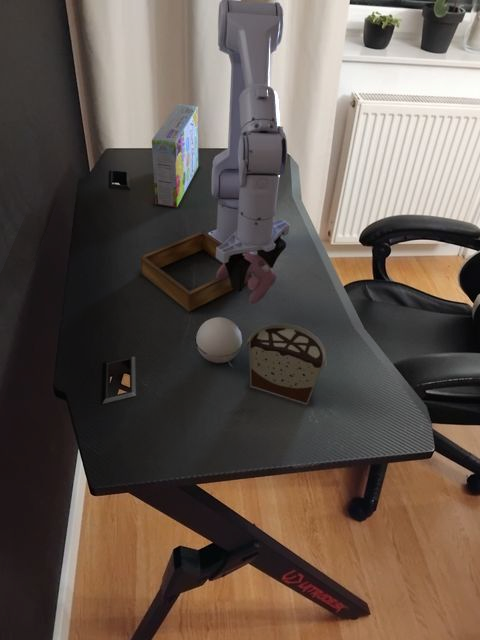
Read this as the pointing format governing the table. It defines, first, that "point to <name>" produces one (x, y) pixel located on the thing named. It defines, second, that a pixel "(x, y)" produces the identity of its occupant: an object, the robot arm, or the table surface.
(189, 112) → the snack box
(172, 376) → the table surface
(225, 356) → the seamed sphere
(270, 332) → the brown and beige cupcake
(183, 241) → the wooden frame
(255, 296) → the video game controller
